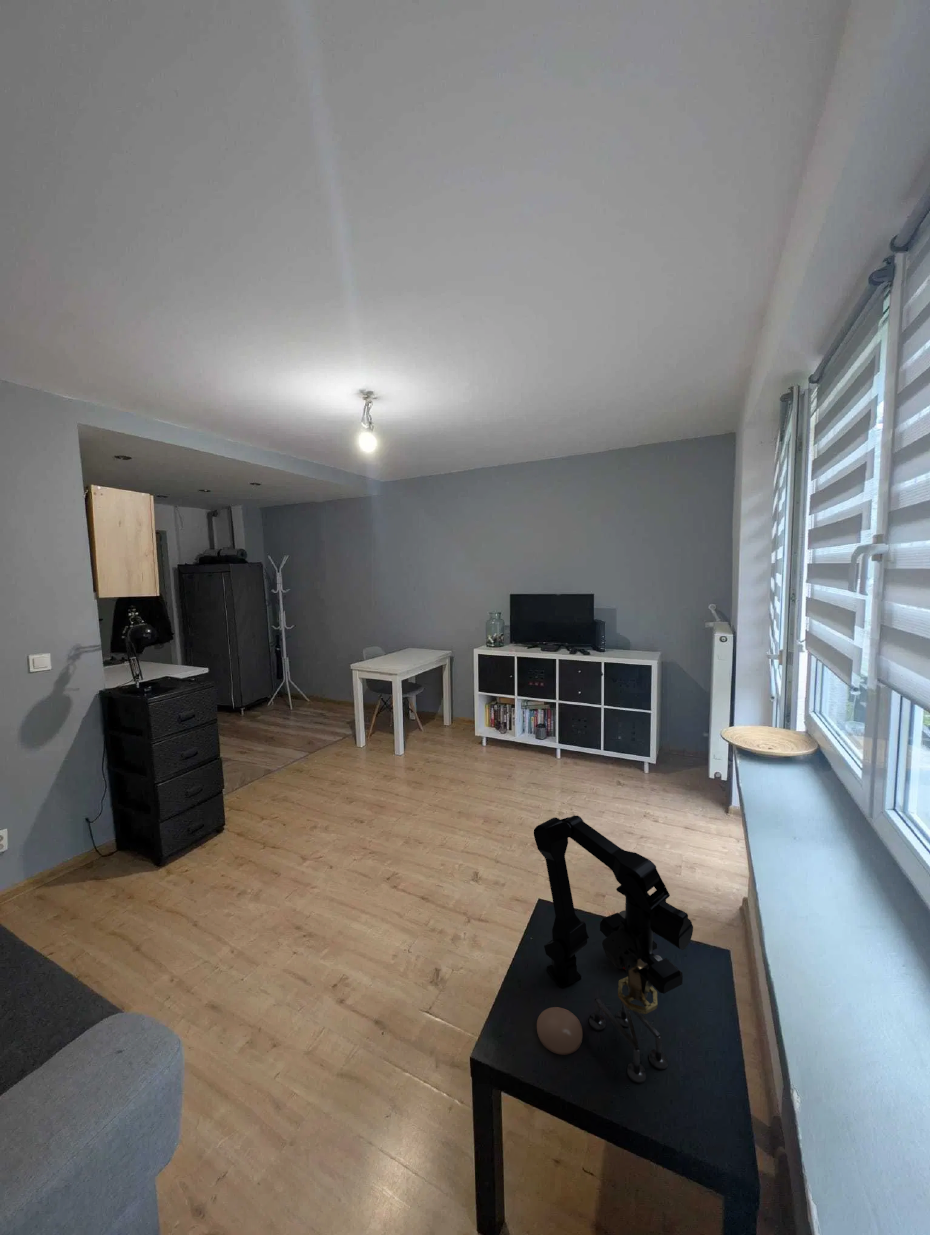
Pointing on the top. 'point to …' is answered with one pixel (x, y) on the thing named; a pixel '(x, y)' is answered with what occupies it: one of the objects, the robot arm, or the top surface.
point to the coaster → (559, 1030)
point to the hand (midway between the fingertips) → (637, 984)
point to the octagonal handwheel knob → (636, 991)
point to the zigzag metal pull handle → (625, 1020)
